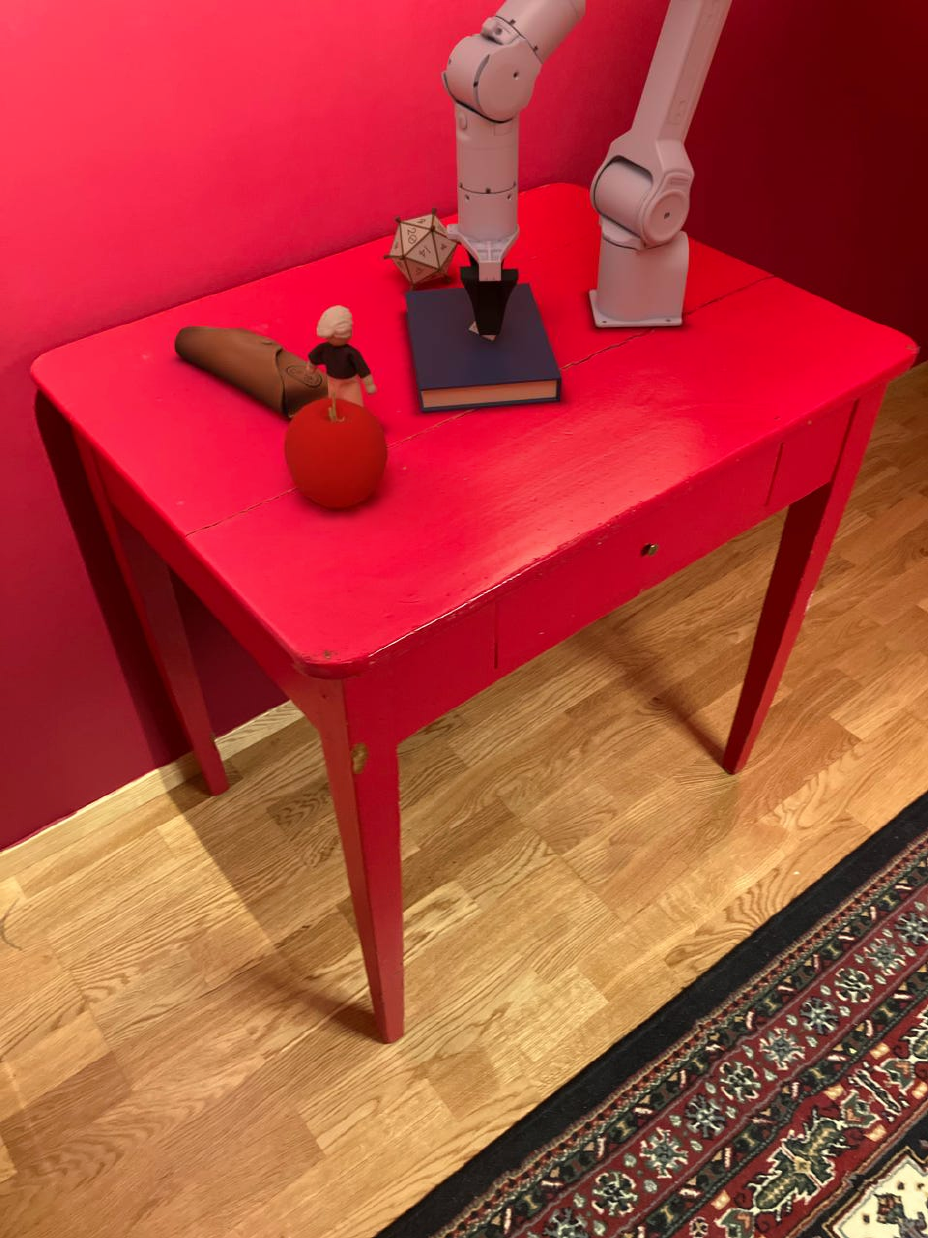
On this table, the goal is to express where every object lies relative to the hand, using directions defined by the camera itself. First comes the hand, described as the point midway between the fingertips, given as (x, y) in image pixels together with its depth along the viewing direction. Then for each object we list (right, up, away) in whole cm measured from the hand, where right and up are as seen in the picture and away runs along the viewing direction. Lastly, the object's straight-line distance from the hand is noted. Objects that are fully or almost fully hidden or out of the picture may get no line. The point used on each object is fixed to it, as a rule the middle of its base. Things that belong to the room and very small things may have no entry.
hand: (488, 314), depth 105 cm
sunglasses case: (-24, -6, +1) cm, 25 cm away
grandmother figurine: (-14, -13, -6) cm, 20 cm away
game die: (-7, +8, +16) cm, 19 cm away
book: (-1, -3, +3) cm, 5 cm away
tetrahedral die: (0, -1, +2) cm, 2 cm away
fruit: (-14, -20, -13) cm, 27 cm away
